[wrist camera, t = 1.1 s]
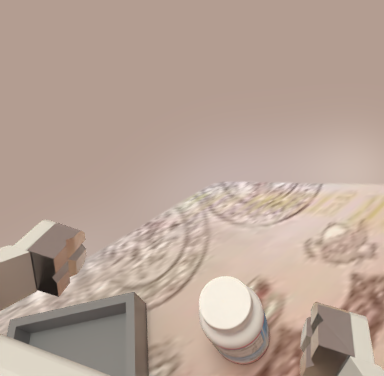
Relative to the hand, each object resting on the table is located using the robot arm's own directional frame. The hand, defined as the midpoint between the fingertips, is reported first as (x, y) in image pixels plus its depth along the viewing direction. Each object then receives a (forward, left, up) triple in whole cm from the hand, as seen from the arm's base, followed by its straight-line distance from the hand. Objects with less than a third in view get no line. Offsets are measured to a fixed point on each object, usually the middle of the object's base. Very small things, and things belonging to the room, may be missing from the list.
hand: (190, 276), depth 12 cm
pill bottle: (+1, -6, -30) cm, 30 cm away
